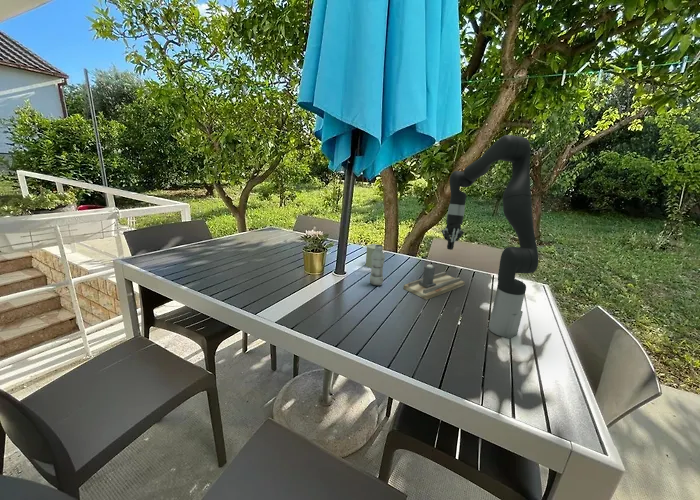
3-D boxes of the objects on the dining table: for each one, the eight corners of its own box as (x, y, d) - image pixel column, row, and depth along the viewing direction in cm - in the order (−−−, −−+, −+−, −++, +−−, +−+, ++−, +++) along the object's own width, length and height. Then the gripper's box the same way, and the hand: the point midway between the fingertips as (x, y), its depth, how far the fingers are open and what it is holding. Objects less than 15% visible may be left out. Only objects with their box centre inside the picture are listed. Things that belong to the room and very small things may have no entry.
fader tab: (435, 286, 150) (438, 266, 147) (428, 288, 147) (431, 268, 144) (425, 282, 155) (428, 262, 152) (419, 284, 152) (421, 264, 149)
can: (373, 261, 187) (374, 242, 183) (384, 266, 180) (386, 246, 177) (362, 264, 181) (363, 244, 178) (373, 269, 175) (374, 248, 171)
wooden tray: (464, 285, 159) (465, 279, 158) (426, 299, 141) (427, 292, 140) (441, 276, 170) (442, 270, 168) (403, 288, 152) (404, 281, 151)
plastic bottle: (382, 287, 152) (385, 248, 145) (368, 285, 153) (371, 246, 147) (383, 282, 158) (386, 244, 151) (370, 280, 159) (373, 243, 153)
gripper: (451, 214, 144) (445, 250, 147) (471, 215, 150) (465, 251, 153) (439, 212, 150) (434, 247, 153) (459, 214, 156) (454, 248, 159)
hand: (449, 249), depth 153 cm, fingers closed
